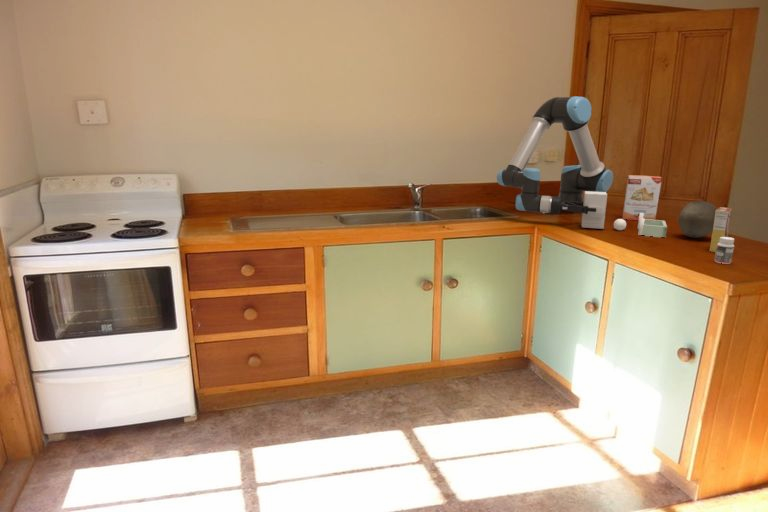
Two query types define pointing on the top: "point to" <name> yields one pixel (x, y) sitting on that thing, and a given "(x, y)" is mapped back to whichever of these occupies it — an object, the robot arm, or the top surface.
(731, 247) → the pill bottle
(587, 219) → the supplement box
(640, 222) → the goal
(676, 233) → the top surface
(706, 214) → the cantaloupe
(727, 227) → the candy box
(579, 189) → the robot arm
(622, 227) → the ball
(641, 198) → the cracker box
